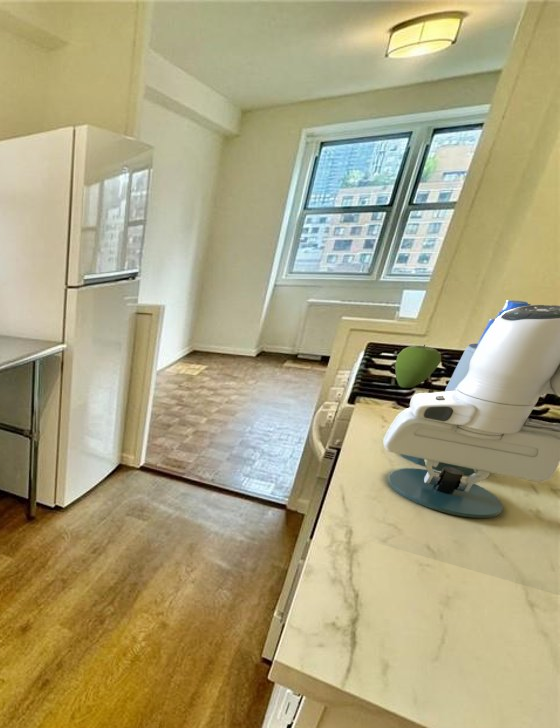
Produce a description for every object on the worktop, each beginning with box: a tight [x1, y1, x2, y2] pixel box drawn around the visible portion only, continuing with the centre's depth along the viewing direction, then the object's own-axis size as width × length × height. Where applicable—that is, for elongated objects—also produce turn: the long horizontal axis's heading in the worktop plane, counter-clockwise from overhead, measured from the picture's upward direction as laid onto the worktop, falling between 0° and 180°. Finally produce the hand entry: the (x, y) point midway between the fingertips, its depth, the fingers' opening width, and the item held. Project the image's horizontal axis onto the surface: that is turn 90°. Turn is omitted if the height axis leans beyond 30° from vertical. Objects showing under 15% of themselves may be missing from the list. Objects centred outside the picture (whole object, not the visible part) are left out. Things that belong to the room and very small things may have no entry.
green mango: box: [394, 344, 442, 389], centre depth 126 cm, size 9×8×12 cm
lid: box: [387, 467, 504, 519], centre depth 82 cm, size 15×15×5 cm
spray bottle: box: [443, 300, 531, 392], centre depth 111 cm, size 9×9×25 cm
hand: (444, 486), depth 82 cm, fingers closed on lid, 2 cm apart
